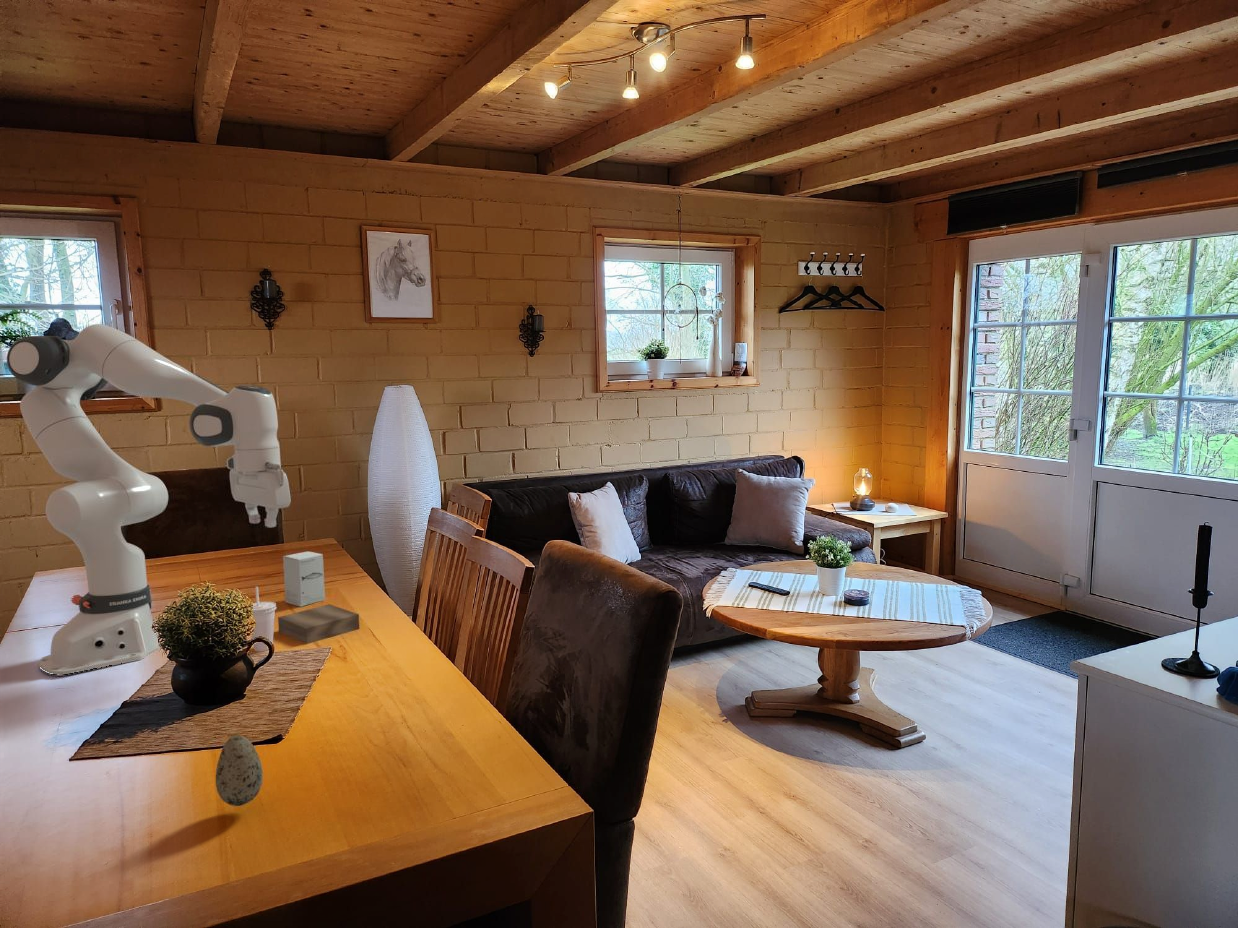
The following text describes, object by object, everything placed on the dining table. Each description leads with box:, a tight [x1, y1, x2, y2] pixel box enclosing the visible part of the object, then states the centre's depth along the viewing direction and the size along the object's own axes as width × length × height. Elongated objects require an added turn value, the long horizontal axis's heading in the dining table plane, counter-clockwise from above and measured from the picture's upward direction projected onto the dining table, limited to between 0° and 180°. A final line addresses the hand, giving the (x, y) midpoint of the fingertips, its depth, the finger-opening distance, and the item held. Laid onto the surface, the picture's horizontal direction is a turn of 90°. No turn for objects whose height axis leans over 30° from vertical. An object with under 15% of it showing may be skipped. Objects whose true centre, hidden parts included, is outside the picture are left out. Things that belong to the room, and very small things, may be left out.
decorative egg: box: [215, 734, 264, 807], centre depth 112 cm, size 6×6×10 cm
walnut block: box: [277, 603, 361, 645], centre depth 187 cm, size 13×13×4 cm
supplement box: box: [282, 551, 326, 608], centre depth 210 cm, size 7×7×13 cm
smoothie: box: [250, 586, 277, 653], centre depth 175 cm, size 6×6×14 cm
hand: (262, 524), depth 174 cm, fingers open, 6 cm apart
